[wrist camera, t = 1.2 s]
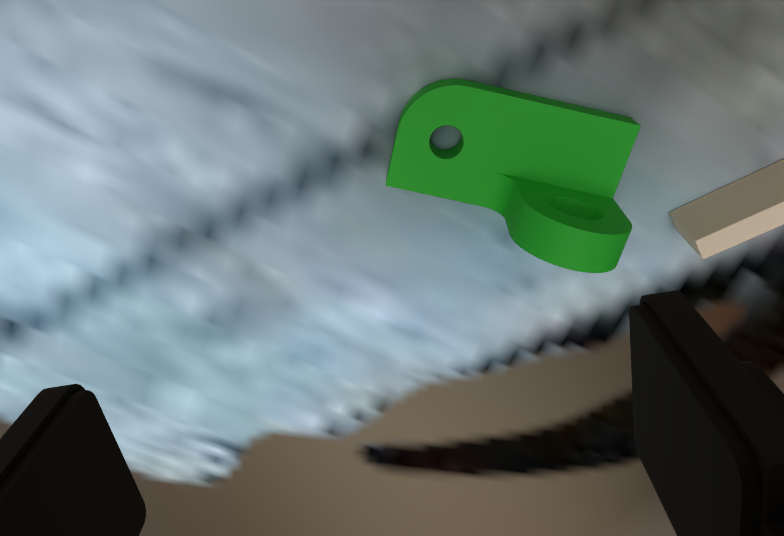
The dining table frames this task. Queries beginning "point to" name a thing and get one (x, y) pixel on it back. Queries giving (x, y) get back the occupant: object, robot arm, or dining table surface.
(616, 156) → the mechanical part
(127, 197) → the dining table surface
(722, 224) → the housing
